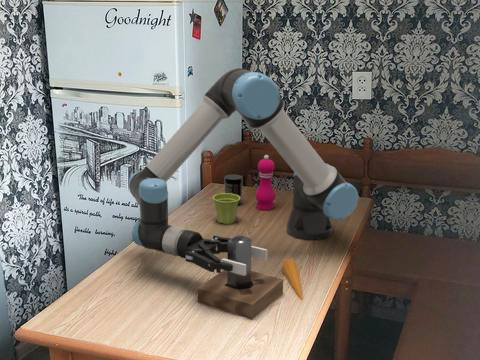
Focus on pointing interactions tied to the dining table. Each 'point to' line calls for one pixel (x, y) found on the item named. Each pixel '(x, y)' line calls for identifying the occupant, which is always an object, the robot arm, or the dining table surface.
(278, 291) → the socket block
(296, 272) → the carrot
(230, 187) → the supplement container
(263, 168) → the pepper mill
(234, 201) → the plant pot
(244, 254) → the d peg
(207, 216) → the dining table surface
